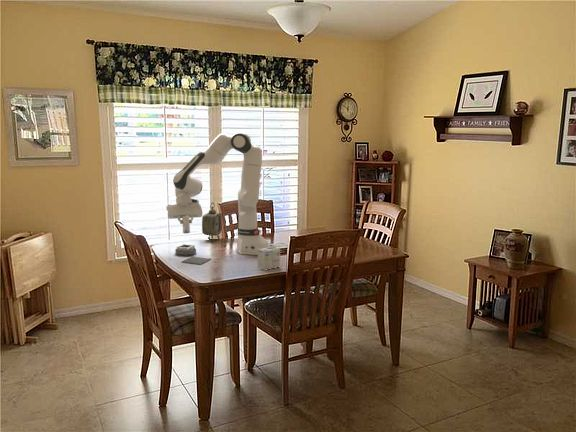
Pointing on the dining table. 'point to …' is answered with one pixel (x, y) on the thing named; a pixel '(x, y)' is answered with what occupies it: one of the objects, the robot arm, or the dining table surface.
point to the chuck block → (185, 250)
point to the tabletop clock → (212, 223)
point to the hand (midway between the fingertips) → (186, 223)
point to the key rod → (186, 224)
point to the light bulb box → (268, 258)
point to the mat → (196, 260)
